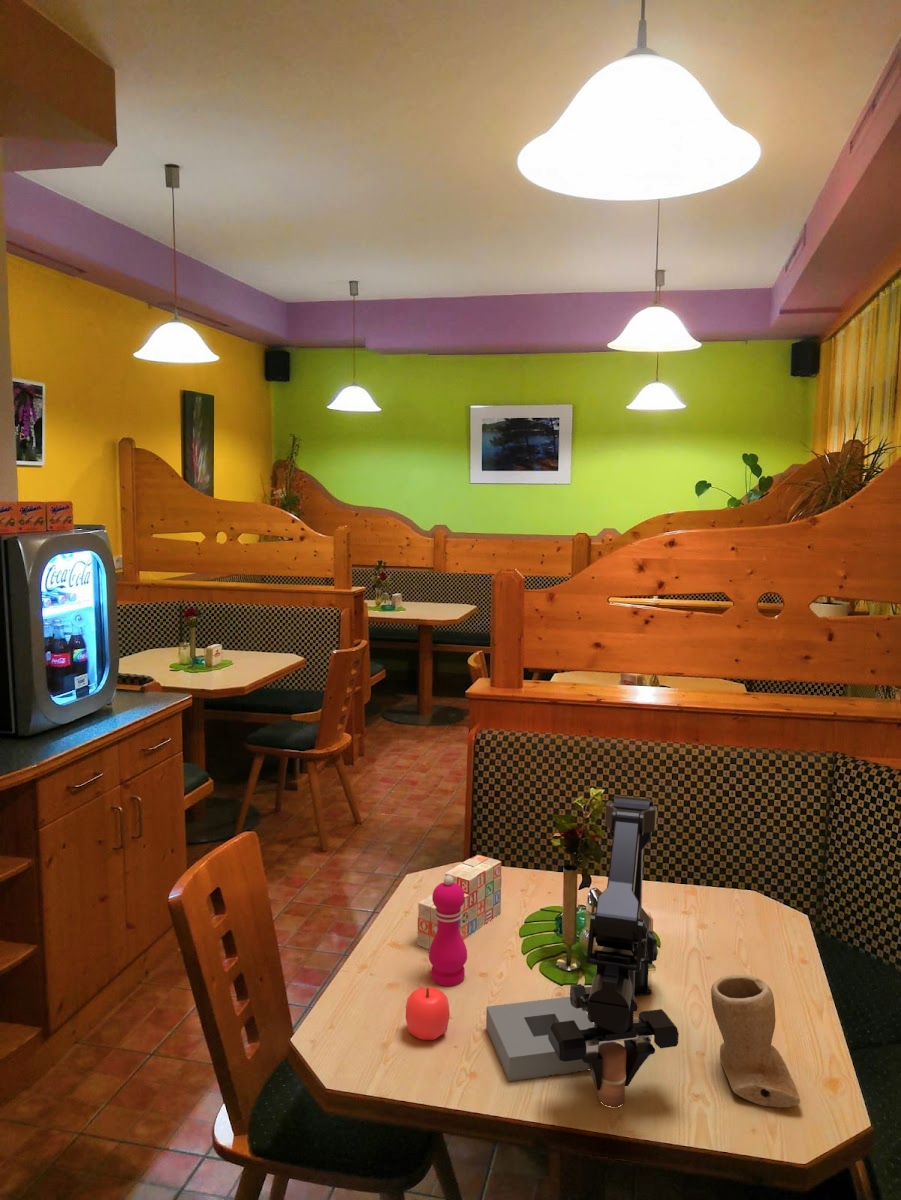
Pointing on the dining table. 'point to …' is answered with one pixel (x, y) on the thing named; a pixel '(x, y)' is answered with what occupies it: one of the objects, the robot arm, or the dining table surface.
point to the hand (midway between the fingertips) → (611, 1086)
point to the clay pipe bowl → (751, 1041)
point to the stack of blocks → (466, 898)
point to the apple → (427, 1013)
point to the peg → (613, 1074)
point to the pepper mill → (448, 935)
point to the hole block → (532, 1036)
